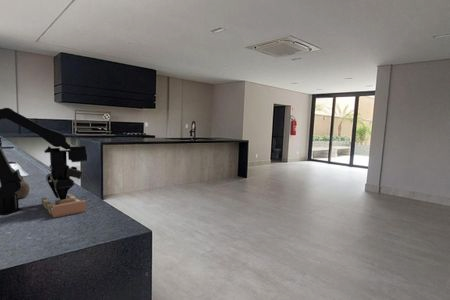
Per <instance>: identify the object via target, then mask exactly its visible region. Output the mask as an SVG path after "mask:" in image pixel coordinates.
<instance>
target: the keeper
mask: <svg viewBox="0 0 450 300" xmlns="http://www.w3.org/2000/svg"><path fill="white" fill-rule="evenodd" d="M54 201H55V202H54V203H55V205H60V204H66V203H71V202H77V201H75V200H74V199H73V198H69V199H67V198H66V199H63V200H60V199H55V200H54Z"/></svg>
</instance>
